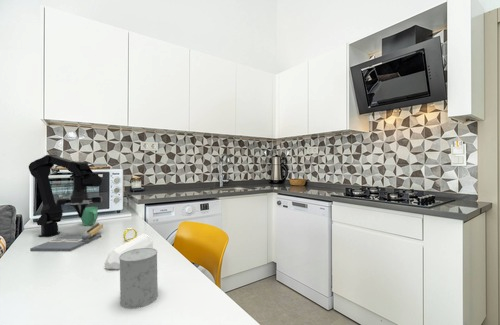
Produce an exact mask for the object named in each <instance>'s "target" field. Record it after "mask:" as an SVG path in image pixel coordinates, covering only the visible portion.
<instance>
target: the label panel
mask: <svg viewBox="0 0 500 325" xmlns="http://www.w3.org/2000/svg"><path fill="white" fill-rule="evenodd" d="M100 238H102V234H94V235H93V236H90V238H88V239H82V234H65V235H62V236H60V237H57V238H55V239H54V238H52V239H50V240H48V241H46V242H44V243H41V244H38V245H35V246H33V247H31V248H29V251H30V252H72V251H75V250H76V249H79V248H81V247H83V246H84V245H87V244H89V243H91V242H93V241H95V240H98V239H100Z"/></svg>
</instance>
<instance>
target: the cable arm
mask: <svg viewBox="0 0 500 325" xmlns="http://www.w3.org/2000/svg"><path fill="white" fill-rule="evenodd" d="M103 227H104V224H103V223H101V224H100V223H98V222H97V223H96V224H93V225H92V226H91V227H90V228H88V229H87V230H85V231H84V232H83V233H81V235H82V239H88V238H90V236H93V235H96V233H98V232H99V231H100V230H102V229H104V228H103Z"/></svg>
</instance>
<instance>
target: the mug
mask: <svg viewBox="0 0 500 325" xmlns="http://www.w3.org/2000/svg"><path fill="white" fill-rule="evenodd" d="M98 209H99V207H98V206H86V208H85V210H84V213H83V216H82V217H81V218H80V220H81V222H82V225H83V226H84V227H88V226H89V227H90V226H94V225H95V223H96V222H97V220H98V217H99V216H98V215H99V214H98Z"/></svg>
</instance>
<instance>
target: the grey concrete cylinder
mask: <svg viewBox="0 0 500 325" xmlns="http://www.w3.org/2000/svg"><path fill="white" fill-rule="evenodd" d="M119 259H120V270H119V288H120V291H119V296H120V297H119V299H120V302H119V304H120V306H121V307H122V308H125V309H131V310H132V309H133V308H134V309H139V307H140V308H143V307H146V306H149V305H150V304H152V303H154V302H155V301H157V299H158V297H159V293H158V292H159V291H158V290H159V289H158V287H159V286H158V250H157V249H156V248H154V247H153V248H139V249H133V250H130V251H127V252H125V253H123V254H121V255H120V257H119Z"/></svg>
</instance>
